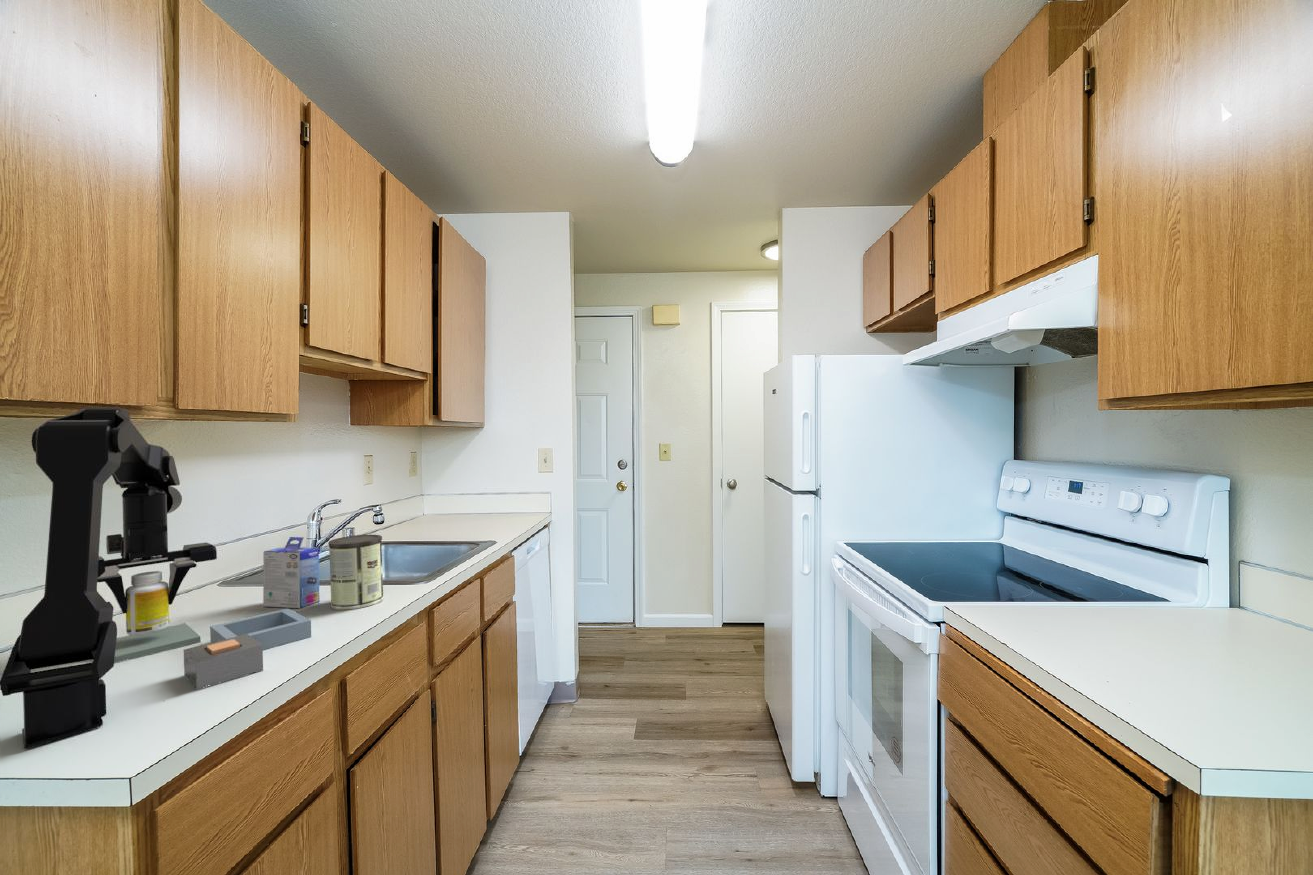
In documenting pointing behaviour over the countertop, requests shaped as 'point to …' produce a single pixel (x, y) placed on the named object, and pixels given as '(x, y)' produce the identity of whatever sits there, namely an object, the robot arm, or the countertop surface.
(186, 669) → the block
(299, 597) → the ink cartridge box
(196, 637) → the mat
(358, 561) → the coffee can
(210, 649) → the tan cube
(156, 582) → the supplement bottle
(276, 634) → the tray
